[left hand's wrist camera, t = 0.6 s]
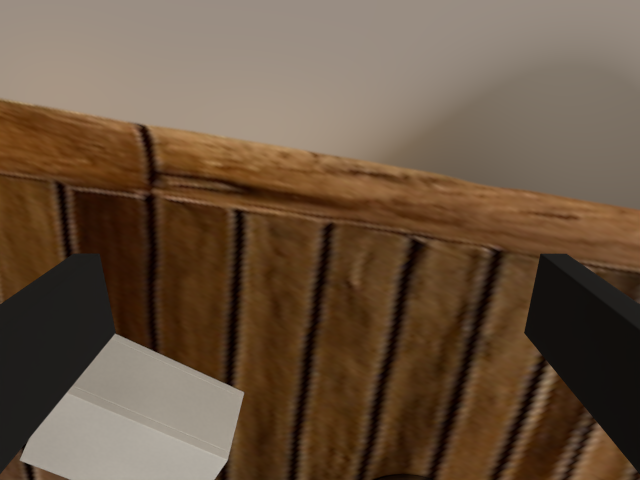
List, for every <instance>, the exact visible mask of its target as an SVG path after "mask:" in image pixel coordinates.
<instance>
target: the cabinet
mask: <svg viewBox="0 0 640 480" xmlns="http://www.w3.org/2000/svg"><path fill="white" fill-rule="evenodd" d="M243 395H244V392H242V391H240V390H238V389H236V388H233V387H231V386H229V385H227V384H225V383H222V382H220V381H218V380H216V379H214V378H211V377H209V376H207V375H205V374H203V373H201V372H198V371H196V370H194V369H192V368H190V367H187V366H185V365H183V364H181V363H179V362H176V361H174V360H172V359H170V358H168V357H165V356H163V355H161V354H159V353H157V352H154V351H152V350H150V349H148V348H146V347H143V346H141V345H139V344H137V343H135V342H132V341H130V340H128V339H126V338H124V337H121V336H119V335H117V334H115V335H114V336H113V337H112V338H111V339H110V341H109V342H108V343H107V344H106V345H105V347H104V348H103V349H102V350H101V352H100V353H99V354H98V355H97V356H96V358H95V359H94V360H93V361H92V363H91V364H90V365H89V366H88V367H87V369H86V370H85V371H84V372H83V374H82V375H81V376H80V377H79V378H78V380H77V381H76V382H75V383H74V385H73V386H72V387H71V388H70V389H69V391H68V392H67V393H66V394H65V396H64V397H63V398H62V399H61V400H60V402H59V403H58V404H57V405H56V406H55V408H54V409H53V410H52V411H51V413H50V414H49V415H48V416H47V417H46V419H45V420H44V421H43V422H42V424H41V425H40V426H39V427H38V428H37V430H36V431H35V432H34V433H33V435H32V436H31V437H30V438H29V440H28V442H27V445H26V447H25V449H24V451H23V454H22V456H21V458H20V461H23V462H25V463H28V464H31V465H33V466H36V467H38V468H41V469H44V470H46V471H49V472H52V473H54V474H57V475H60V476H62V477H65V478H67V479H70V480H214V479H215V478H216V476H217V475H218V473H219V472H220V470H221V469H222V468H223V466H224V465H225V463H226V462H227V460H228V456H229V452H230V448H231V444H232V440H233V436H234V432H235V428H236V424H237V420H238V415H239V411H240V407H241V403H242V399H243Z"/></svg>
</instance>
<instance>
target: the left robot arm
mask: <svg viewBox="0 0 640 480" xmlns="http://www.w3.org/2000/svg"><path fill="white" fill-rule="evenodd" d="M115 333H116V332H115V327H114V322H113V317H112V312H111V308H110V303H109V298H108V293H107V288H106V283H105V278H104V274H103V269H102V264H101V259H100V254H73V255H71V256H70V257H68V258H67V259H65V260H64V261H62V262H61V263H60V264H58V265H57V266H55V267H54V268H52V269H51V270H49V271H48V272H47V273H45V274H44V275H42V276H41V277H39V278H38V279H36V280H35V281H33V282H32V283H31V284H29V285H28V286H26V287H25V288H23V289H22V290H20V291H19V292H18V293H16V294H15V295H13V296H12V297H10V298H9V299H7V300H6V301H5V302H3V303H2V304H0V474H1V472H2V471H3V470H4V469H5V467H6V466H7V465H8V464H9V463H10V461H11V460H12V459H13V458H14V457H15V455H16V454H17V453H18V452H19V450H20V449H21V448H22V447H23V446H24V444H25V443H26V442H27V441H28V439H29V438H30V437H31V436H32V435H33V433H34V432H35V431H36V430H37V428H38V427H39V426H40V425H41V424H42V422H43V421H44V420H45V419H46V417H47V416H48V415H49V414H50V413H51V411H52V410H53V409H54V408H55V406H56V405H57V404H58V403H59V402H60V400H61V399H62V398H63V397H64V396H65V394H66V393H67V392H68V391H69V389H70V388H71V387H72V386H73V385H74V383H75V382H76V381H77V380H78V378H79V377H80V376H81V375H82V374H83V372H84V371H85V370H86V369H87V367H88V366H89V365H90V364H91V363H92V361H93V360H94V359H95V358H96V356H97V355H98V354H99V353H100V352H101V350H102V349H103V348H104V347H105V345H106V344H107V343H108V342H109V341H110V339H111V338H112V337H113V336H114V335H115ZM524 333H525V335H526V336H527V337H528V338H529V339H530V341H531V342H532V343H533V344H534V345H535V347H536V348H537V349H538V350H539V352H540V353H541V354H542V355H543V356H544V358H545V359H546V360H547V361H548V363H549V364H550V365H551V366H552V367H553V369H554V370H555V371H556V372H557V374H558V375H559V376H560V377H561V378H562V380H563V381H564V382H565V383H566V385H567V386H568V387H569V388H570V389H571V391H572V392H573V393H574V394H575V396H576V397H577V398H578V399H579V400H580V402H581V403H582V404H583V405H584V406H585V408H586V409H587V410H588V411H589V413H590V414H591V415H592V416H593V417H594V419H595V420H596V421H597V422H598V424H599V425H600V426H601V427H602V428H603V430H604V431H605V432H606V433H607V435H608V436H609V437H610V438H611V439H612V441H613V442H614V443H615V444H616V446H617V447H618V448H619V449H620V450H621V452H622V453H623V454H624V455H625V457H626V458H627V459H628V460H629V461H630V463H631V464H632V465H633V466H634V467H635V469H636V470H637V471H638V472H639V474H640V304H638V303H637V302H635V301H634V300H633V299H631V298H630V297H628V296H627V295H625V294H624V293H622V292H621V291H620V290H618V289H617V288H615V287H614V286H612V285H611V284H609V283H608V282H607V281H605V280H604V279H602V278H601V277H599V276H598V275H596V274H595V273H593V272H592V271H591V270H589V269H588V268H586V267H585V266H583V265H582V264H580V263H579V262H578V261H576V260H575V259H573V258H572V257H570V256H569V255H567V254H540V259H539V264H538V269H537V274H536V278H535V283H534V288H533V293H532V298H531V303H530V308H529V312H528V317H527V322H526V327H525V332H524ZM378 480H432V479H429V478H426V477H422V476H416V475H395V476H388V477H384V478H380V479H378Z"/></svg>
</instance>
